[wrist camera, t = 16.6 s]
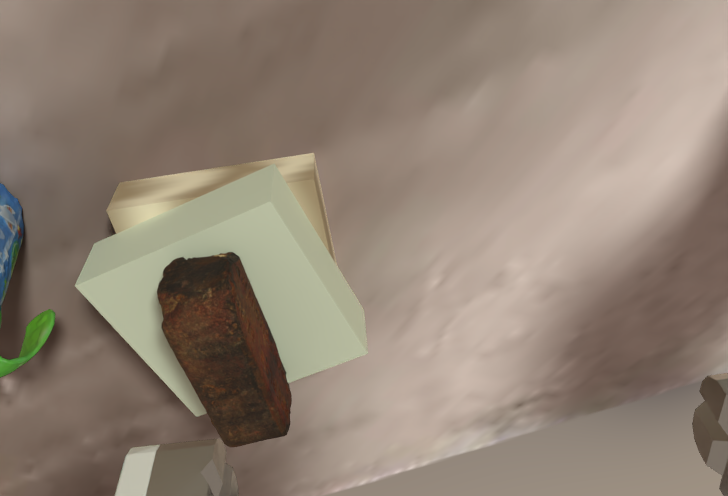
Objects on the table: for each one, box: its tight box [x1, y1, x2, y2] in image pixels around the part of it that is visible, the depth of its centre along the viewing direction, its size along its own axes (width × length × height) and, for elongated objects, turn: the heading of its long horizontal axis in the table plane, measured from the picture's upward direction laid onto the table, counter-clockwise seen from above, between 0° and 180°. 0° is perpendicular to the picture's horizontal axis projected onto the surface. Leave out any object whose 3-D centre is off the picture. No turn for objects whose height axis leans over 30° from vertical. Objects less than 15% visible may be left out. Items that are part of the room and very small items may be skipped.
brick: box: [157, 252, 291, 447], centre depth 37 cm, size 11×4×5 cm, turn 14°
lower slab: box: [106, 153, 337, 265], centre depth 43 cm, size 12×12×4 cm
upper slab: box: [75, 163, 368, 417], centre depth 40 cm, size 12×12×4 cm
